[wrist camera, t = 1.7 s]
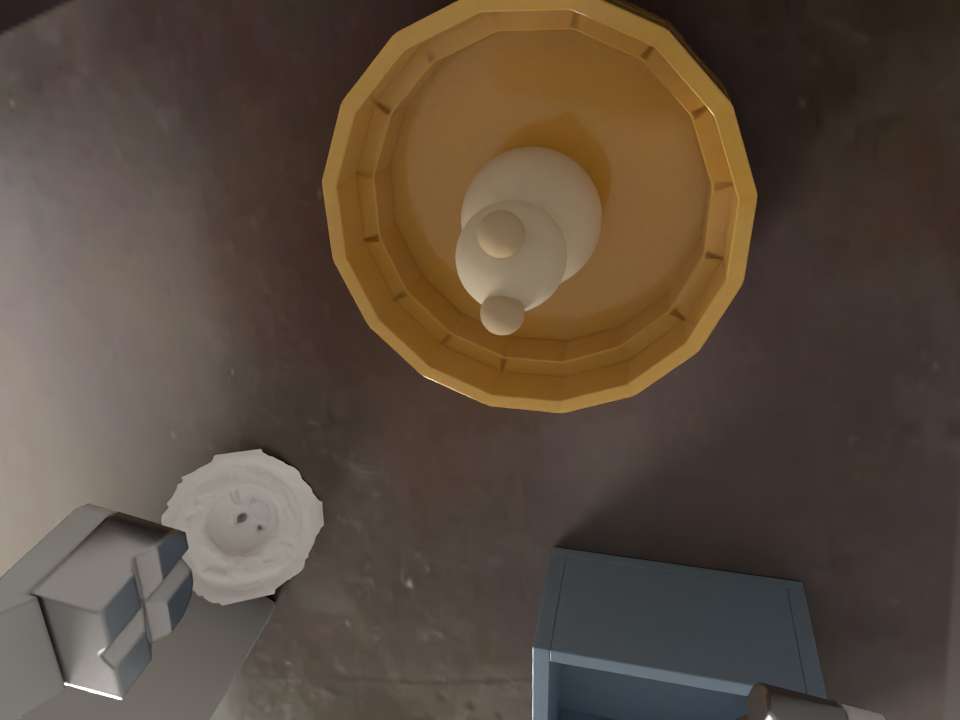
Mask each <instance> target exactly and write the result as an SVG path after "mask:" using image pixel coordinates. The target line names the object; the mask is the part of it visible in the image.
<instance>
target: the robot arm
mask: <svg viewBox="0 0 960 720" xmlns="http://www.w3.org/2000/svg"><path fill="white" fill-rule="evenodd" d="M188 549H189V547H188V542H187V537H186V532H184V531H181V530H178V529H174V528H171V527H168V526H164V525H161V524H157V523H154V522H151V521H147V520H144V519H141V518H137V517H134V516H130V515H127V514H124V513H120V512H117V511H113V510H109V509H106V508H102V507H99V506H95V505H91V504H86V505H84V506H81V507H79V508H77V509H75V510H74V511H73V512H72V513H70V514H69V515H68V516H67V517H66V518H65V519H64V520H63V521H62V522H61V523H60V524H58V525H57V526H56V527H55V528H54V529H53V530H52V531H51V532H50V533H49V534H48V535H46V536H45V537H44V538H43V539H42V540H41V541H40V542H39V543H38V544H37V545H36V546H35V547H33V548H32V549H31V550H30V551H29V552H28V553H27V554H26V555H25V556H24V557H23V558H21V559H20V560H19V561H18V562H17V563H16V564H15V565H14V566H13V567H12V568H11V569H9V570H8V571H7V572H6V573H5V574H4V575H3V576H2V577H1V578H0V720H17V719H19V718H20V717H22V716H23V715H25V714H26V713H28V712H30V711H31V710H33V709H34V708H36V707H38V706H39V705H41V704H42V703H44V702H46V701H47V700H49V699H50V698H52V697H54V696H55V695H57V694H58V693H60V692H61V691H63V690H65V688H66V687H65V685H68V686H71V687H75V688H79V689H82V690H86V691H90V692H93V693H97V694H101V695H104V696H108V697H112V698H115V699H119V700H122V699H123V698H124V696H125V695H126V694H127V692H128V691H129V690H130V688H131V687H132V686H133V684H134V683H135V682H136V680H137V679H138V678H139V676H140V675H141V674H142V672H143V671H144V669H145V668H146V667H147V665H148V664H149V663H150V661H151V660H152V643H154V642H156V641H158V640H159V639H161V638H163V637H165V636H167V635H169V634H171V633H172V632H173V630H174V629H175V627H176V626H177V624H178V623H179V622H180V620H181V619H182V617H183V616H184V613H185V611H186V608H187V606H188V604H189V601H190V599H191V596H192V589H193V575H192V570H191V568H190V567H189V566H188V565H187V563H186V562H185V561H184V560H183V558H182V556H183V555H184V554H185V553H186V551H187V550H188ZM747 708H748V714H747V715H744V716H742V717H739V718H737V719H736V720H886V719H885V718H884V716H883V715H882V714H878V713H875V712H871V711H867V710H863V709H860V708H856V707H852V706H848V705H844V704H840V703H837V702H836V701H833V700H829V699H825V698H821V697H817V696H813V695H809V694H805V693H801V692H797V691H793V690H789V689H785V688H781V687H777V686H773V685H769V684H765V683H761V682H758V683H757V684H755V685H754V686H753V687H752V689H751V691H750V693H749V695H748V696H747Z"/></svg>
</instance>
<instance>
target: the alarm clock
mask: <svg viewBox="0 0 960 720" xmlns="http://www.w3.org/2000/svg"><path fill="white" fill-rule="evenodd" d="M274 607H275V602H274V601H272V600H270V599H269V598H267V597H265V596H263V597H258V598H254V599H249V600H245V601H240V602H236V603H232V604H228V605H224V606H222V605H221V604H220V603H212V602H209V601H208V600H206V599H205V598H203V595H202V596H198V595H197V594H196V592H195V591H193V590H192V596H191V599H190V601H189V604H188V606H187V608H186V611H185V613H184V616H183V617H182V619H181V620H180V622H179V623H178V624H177V626H176V627H175V629H174V630H173V632H172V633H171V634H169V635H167V636H165V637H163V638H161V639H159V640H158V641H156V642H154V643H152V660H151V661H150V663H149V664H148V665H147V667H146V668H145V669H144V671H143V672H142V674H141V675H140V676H139V678H138V679H137V680H136V682H135V683H134V684H133V686H132V687H131V688H130V690H129V691H128V692H127V694H126V695H125V696H124V698H123V699H122V700H119V699H115V698H112V697H108V696H104V695H101V694H97V693H93V692H90V691H86V690H82V689H79V688H75V687H71V686H68V685H65V687H66V688H65V690H63V691H61V692H60V693H58V694H57V695H55V696H54V697H52V698H50V699H49V700H47V701H46V702H44V703H42V704H41V705H39V706H38V707H36V708H34V709H33V710H31V711H30V712H28V713H26V714H25V715H23V716H22V717H21V718H20V720H210V718H211V716H212V715H213V713H214V711H215V710H216V708H217V706H218V705H219V703H220V702H221V700H222V698H223V697H224V695H225V693H226V692H227V690H228V688H229V687H230V685H231V683H232V682H233V680H234V678H235V677H236V675H237V673H238V672H239V670H240V668H241V667H242V665H243V663H244V661H245V660H246V658H247V656H248V655H249V653H250V651H251V650H252V648H253V646H254V644H255V643H256V641H257V639H258V637H259V636H260V634H261V632H262V630H263V628H264V627H265V625H266V623H267V621H268V619H269V617H270V615H271V613H272V611H273V609H274Z"/></svg>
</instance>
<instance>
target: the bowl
mask: <svg viewBox="0 0 960 720" xmlns="http://www.w3.org/2000/svg"><path fill="white" fill-rule="evenodd" d="M531 146H536V147H545V148H550V149H553V150H556V151H559V152H561V153H563V154H565V155H567V156H569V157H570V158H572V159H573V160H574V161H576V162H577V163H578V164H579V165H580V166H581V167H582V168H583V169H584V170H585V171H586V172H587V174H588V175H589V176H590V178H591V180H592V181H593V183H594V185H595V187H596V189H597V192H598V194H599V198H600V201H601V208H602V226H601V233H600V237H599V240H598V243H597V245H596V247H595V250H594V252H593V253H592V255H591V257H590V258H589V260H588V261H587V262H586V264H585V265H584V266H583V267H582V268H581V269H580V270H579V271H578V272H577V273H576V274H574V275H573V276H572V277H570V278H569V279H567V280H566V281H564V282H562V283H560V284H559V286H558V288H557V289H556V290H555V292H554V293H553V294H552V295H551V296H550V297H549V298H548V299H547V300H546V301H544V302H543V303H542V304H540V305H538V306H537V307H535V308H532V309H530V310H527V311H525V316H524V320H523V323H522V325H521V326H520V327H519V329H517V330H516V331H515V332H513V333H512V334H509V335H496V334H493V333H491V332H490V331H488V330H487V329H486V328H485V326H484V325H483V323H482V321H481V317H480V310H481V306H482V304H480V303H479V302H477V301H476V300H475V299H474V298H473V297H472V296H471V295H470V294H469V293H468V292H467V290H466V289H465V288H464V286H463V284H462V282H461V280H460V278H459V275H458V272H457V267H456V260H455V258H456V247H457V242H458V239H459V236H460V234H461V232H462V227H461V212H462V205H463V200H464V197H465V194H466V191H467V189H468V187H469V185H470V183H471V182H472V180H473V178H474V177H475V175H476V174H477V173H478V172H479V171H480V169H481V168H482V167H483V166H484V165H486V164H487V163H488V162H489V161H490V160H492V159H493V158H495V157H496V156H498V155H500V154H502V153H504V152H506V151H509V150H512V149H515V148H521V147H531ZM322 187H323V194H324V201H325V208H326V215H327V222H328V229H329V236H330V243H331V250H332V257H333V261H334V263H335V265H336V267H337V269H338V270H339V272H340V274H341V276H342V278H343V280H344V282H345V283H346V285H347V287H348V289H349V291H350V293H351V295H352V296H353V298H354V300H355V302H356V304H357V306H358V308H359V309H360V311H361V313H362V315H363V317H364V319H365V321H366V322H367V324H368V325H369V327H370V328H371V329H372V330H373V331H374V332H376V333H377V334H378V335H379V336H380V337H381V338H382V339H383V340H384V341H385V342H386V343H387V344H389V345H390V346H391V347H392V348H393V349H394V350H395V351H396V352H397V353H398V354H399V355H400V356H401V357H403V358H404V359H405V360H406V361H407V362H408V363H409V364H410V365H411V366H412V367H413V368H414V369H416V370H417V371H418V372H419V373H420V374H421V375H423V376H424V377H426V378H428V379H431V380H433V381H435V382H437V383H439V384H442V385H444V386H446V387H448V388H450V389H453V390H455V391H457V392H459V393H462V394H464V395H466V396H468V397H470V398H473V399H475V400H477V401H479V402H481V403H484V404H486V405H490V406H495V407H505V408H515V409H525V410H535V411H545V412H555V413H566V412H570V411H574V410H578V409H582V408H587V407H591V406H595V405H599V404H603V403H607V402H611V401H615V400H619V399H623V398H628V397H632V396H634V395H636V394H638V393H639V392H641V391H642V390H644V389H645V388H647V387H648V386H650V385H651V384H652V383H654V382H655V381H657V380H658V379H660V378H661V377H663V376H664V375H666V374H667V373H668V372H670V371H671V370H673V369H674V368H676V367H677V366H679V365H680V364H682V363H683V362H684V361H686V360H687V359H689V358H690V357H692V356H693V355H695V354H696V353H698V351H699V350H700V349H701V348H702V346H703V345H704V343H705V342H706V340H707V338H708V337H709V335H710V334H711V332H712V331H713V329H714V328H715V326H716V325H717V323H718V322H719V320H720V319H721V317H722V315H723V314H724V312H725V311H726V309H727V308H728V306H729V305H730V303H731V302H732V300H733V299H734V297H735V296H736V294H737V292H738V291H739V289H740V288H741V286H742V285H743V282H744V279H745V273H746V266H747V260H748V254H749V248H750V242H751V236H752V230H753V223H754V217H755V211H756V205H757V199H758V197H757V195H758V194H757V190H756V187H755V183H754V179H753V176H752V172H751V169H750V165H749V161H748V158H747V154H746V151H745V147H744V143H743V140H742V136H741V133H740V129H739V125H738V122H737V118H736V115H735V111H734V107H733V105H732V102H731V100H730V98H729V95H728V93H727V91H726V88H725V87H724V85H723V83H722V82H721V81H720V80H719V79H718V78H717V76H716V75H715V74H714V73H713V72H712V71H711V69H710V68H709V67H708V66H707V65H706V64H705V62H704V61H703V60H702V59H701V58H700V57H699V55H698V54H697V53H696V52H695V51H694V50H693V48H692V47H691V46H690V45H689V44H688V43H687V41H686V40H685V39H684V38H683V37H682V36H681V34H680V33H679V32H678V31H677V30H676V29H675V27H674V26H673V25H672V24H671V23H670V22H669V21H667V20H666V19H665V18H663V17H661V16H658V15H656V14H654V13H652V12H649V11H647V10H645V9H643V8H640V7H638V6H636V5H634V4H631V3H629V2H627V1H625V0H458V1H456V2H454V3H452V4H450V5H448V6H446V7H444V8H442V9H440V10H438V11H436V12H434V13H432V14H431V15H429V16H427V17H425V18H423V19H421V20H419V21H417V22H415V23H413V24H411V25H409V26H407V27H405V28H403V29H402V30H400V31H398V32H396V33H395V34H394V35H392V37H391V38H390V39H389V41H388V42H387V43H386V45H385V46H384V47H383V48H382V50H381V51H380V52H379V54H378V55H377V56H376V58H375V59H374V60H373V61H372V63H371V64H370V65H369V67H368V68H367V69H366V71H365V72H364V73H363V74H362V76H361V77H360V78H359V80H358V81H357V82H356V84H355V85H354V86H353V88H352V89H351V90H350V91H349V93H348V94H347V95H346V97H345V98H344V99H343V101H342V103H341V105H340V109H339V113H338V117H337V121H336V126H335V130H334V134H333V138H332V142H331V146H330V150H329V154H328V158H327V162H326V166H325V170H324V175H323V179H322Z"/></svg>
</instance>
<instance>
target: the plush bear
mask: <svg viewBox="0 0 960 720" xmlns="http://www.w3.org/2000/svg"><path fill="white" fill-rule="evenodd" d="M601 226H602V208H601V201H600V198H599V194H598V192H597V189H596V187H595V185H594V183H593V181H592V180H591V178H590V176H589V175H588V174H587V172H586V171H585V170H584V169H583V168H582V167H581V166H580V165H579V164H578V163H577V162H576V161H574V160H573V159H572V158H570V157H569V156H567V155H565V154H563V153H561V152H559V151H556V150H553V149H550V148H545V147H536V146H531V147H521V148H515V149H512V150H509V151H506V152H504V153H502V154H500V155H498V156H496V157H495V158H493V159H492V160H490V161H489V162H488V163H487V164H486V165H484V166H483V167H482V168H481V169H480V171H479V172H478V173H477V174H476V175H475V177H474V178H473V180H472V182H471V183H470V185H469V187H468V189H467V191H466V194H465V197H464V200H463V205H462V212H461V227H462V232H461V234H460V236H459V239H458V242H457V247H456V258H455V260H456V267H457V272H458V275H459V278H460V280H461V282H462V284H463V286H464V288H465V289H466V290H467V292H468V293H469V294H470V295H471V296H472V297H473V298H474V299H475V300H476V301H477V302H479V303H480V304H482V306H481V310H480V317H481V321H482V323H483V325H484V326H485V328H486V329H487V330H488V331H490V332H491V333H493V334H496V335H509V334H512V333H513V332H515V331H516V330H517V329H519V327H520V326H521V325H522V323H523V320H524V316H525V311H527V310H530V309H532V308H535V307H537V306H538V305H540V304H542V303H543V302H544V301H546V300H547V299H548V298H549V297H550V296H551V295H552V294H553V293H554V292H555V290H556V289H557V288H558V286H559V284H560V283H562V282H564V281H566V280H567V279H569V278H570V277H572V276H573V275H574V274H576V273H577V272H578V271H579V270H580V269H581V268H582V267H583V266H584V265H585V264H586V262H587V261H588V260H589V258H590V257H591V255H592V253H593V252H594V250H595V247H596V245H597V243H598V240H599V237H600V233H601Z"/></svg>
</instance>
